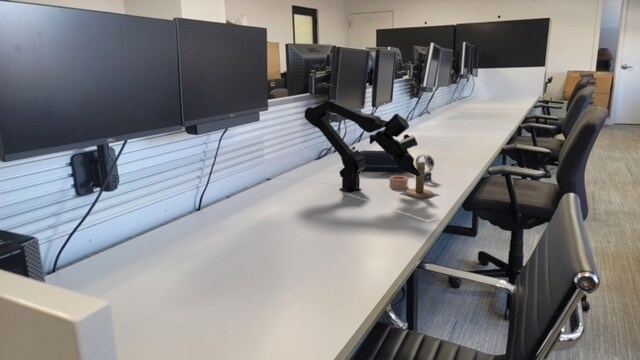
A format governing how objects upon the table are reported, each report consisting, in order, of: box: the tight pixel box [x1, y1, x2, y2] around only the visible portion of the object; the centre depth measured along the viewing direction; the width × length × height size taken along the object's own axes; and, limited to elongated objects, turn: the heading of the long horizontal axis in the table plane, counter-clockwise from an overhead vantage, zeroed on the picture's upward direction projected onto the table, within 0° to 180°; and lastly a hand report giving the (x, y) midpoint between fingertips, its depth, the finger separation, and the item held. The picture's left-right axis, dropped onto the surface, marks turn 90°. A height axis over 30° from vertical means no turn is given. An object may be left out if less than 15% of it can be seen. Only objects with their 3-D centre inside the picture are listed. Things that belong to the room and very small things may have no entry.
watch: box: [414, 153, 435, 182], centre depth 192 cm, size 6×8×11 cm
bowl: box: [388, 175, 409, 190], centre depth 182 cm, size 7×7×4 cm
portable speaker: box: [359, 149, 406, 174], centre depth 207 cm, size 25×10×10 cm, turn 85°
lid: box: [405, 161, 434, 199], centre depth 170 cm, size 10×10×12 cm
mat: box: [398, 191, 440, 202], centre depth 172 cm, size 11×11×1 cm
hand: (417, 172), depth 170 cm, fingers open, 9 cm apart
